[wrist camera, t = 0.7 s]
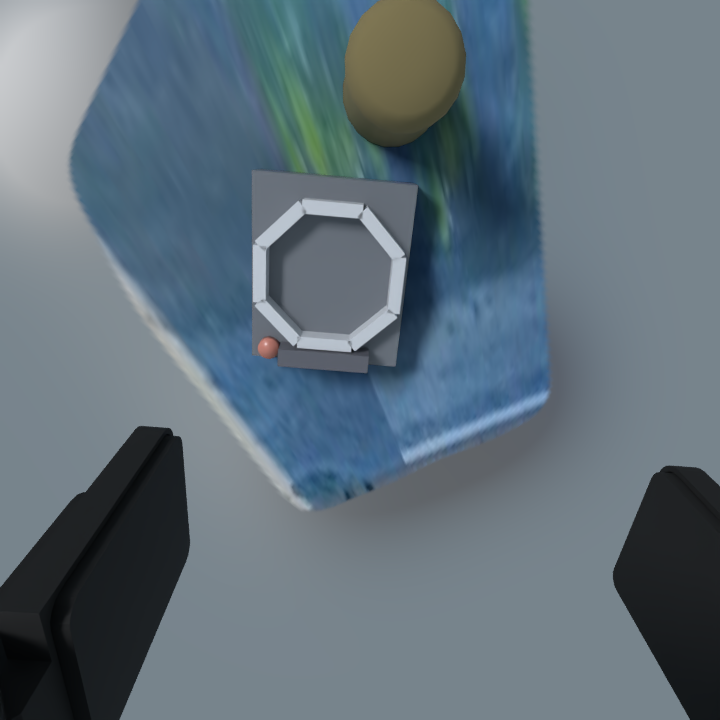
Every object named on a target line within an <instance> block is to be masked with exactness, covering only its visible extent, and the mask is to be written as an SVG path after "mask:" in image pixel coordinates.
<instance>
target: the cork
mask: <svg viewBox="0 0 720 720" xmlns="http://www.w3.org/2000/svg"><path fill="white" fill-rule="evenodd" d="M465 63H466V52H465V48H464V43H463V38H462V34H461V31H460V29H459V27H458V26H457V24H456V22H455V20H454V19H453V17H452V15H451V13H450V12H448V11H447V10H446V9H445V8H444V7H443V6H442V5H441V4H439V3H438V2H437V1H436V0H380V1H378V2H377V3H376V4H374V5H373V6H372V7H371V8H370V9H369V10H368V11H367V12H365V13H364V14H363V15H362V16H361V18H360V20H359V21H358V23H357V25H356V26H355V28H354V30H353V31H352V33H351V35H350V39H349V43H348V47H347V50H346V54H345V79H344V83H343V103H344V106H345V110H346V113H347V116H348V119H349V121H350V122H351V123H352V125H353V126H354V128H355V129H356V131H357V132H358V133H359V134H360V135H361V136H363V137H364V138H365V139H367V140H368V141H369V142H371V143H374V144H377V145H380V146H383V147H399V146H402V145H405V144H408V143H410V142H413V141H414V140H416V139H417V138H418V137H419V136H421V135H422V134H423V133H424V132H426V130H427V129H428V127H430V126H432V125H433V124H434V123H435V122H437V121H438V120H439V119H440V118H442V117H443V116H444V115H446V113H447V112H448V110H449V109H450V108H451V106H452V105H453V103H454V102H455V100H456V99H457V97H458V95H459V92H460V89H461V86H462V83H463V80H464V77H465Z"/></svg>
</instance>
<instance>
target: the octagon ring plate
mask: <svg viewBox="0 0 720 720" xmlns="http://www.w3.org/2000/svg"><path fill="white" fill-rule="evenodd" d="M417 191H418V185H417V184H415V183H407V182H396V181H385V180H374V179H363V178H353V177H342V176H331V175H320V174H309V173H298V172H288V171H277V170H266V169H256V170H252V355H256V356H262V357H264V358H267V359H270V358H274V357H278V366H282V367H294V368H307V369H320V370H332V371H345V372H357V373H367V371H368V364H369V365H381V366H394V367H395V366H396V358H397V350H398V342H399V334H400V326H401V318H402V310H403V303H404V295H405V287H406V279H407V271H408V263H409V255H410V247H411V239H412V231H413V223H414V215H415V207H416V199H417Z"/></svg>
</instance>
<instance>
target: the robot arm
mask: <svg viewBox="0 0 720 720" xmlns="http://www.w3.org/2000/svg"><path fill="white" fill-rule="evenodd" d="M189 546H190V536H189V524H188V512H187V498H186V485H185V473H184V460H183V447H182V440H181V438H180V437H179V436H173V432H172V430H171V429H170V428H160V427H147V426H139V427H137V428H136V429H135V430H134V432H133V433H132V434H131V436H130V437H129V438H128V439H127V441H126V442H125V443H124V444H123V446H122V447H121V448H120V449H119V451H118V452H117V453H116V454H115V456H114V457H113V458H112V460H111V461H110V462H109V464H108V465H107V466H106V467H105V468H104V470H103V471H102V472H101V473H100V475H99V476H98V477H97V478H96V480H95V481H94V482H93V483H92V485H91V486H90V487H89V488H88V490H87V491H86V492H83V493H81V494H78V495H77V496H76V497H75V498H74V499H72V500H71V501H70V503H69V504H68V505H67V506H66V508H65V509H64V510H63V511H62V512H61V514H60V515H59V516H58V517H57V519H56V520H55V521H54V523H52V525H51V526H50V527H49V528H48V530H47V531H46V532H45V533H44V535H43V536H42V537H41V538H40V539H39V541H38V542H37V543H36V544H35V546H34V547H33V548H32V549H31V550H30V552H29V553H28V554H27V555H26V557H25V558H24V559H23V560H22V562H21V563H20V564H19V565H18V567H17V568H16V569H15V570H14V571H13V573H12V574H11V575H10V576H9V578H8V579H7V580H6V581H5V582H4V584H3V585H2V586H1V587H0V720H119V719H120V717H121V714H122V712H123V710H124V707H125V705H126V703H127V700H128V698H129V695H130V693H131V691H132V688H133V686H134V683H135V681H136V679H137V676H138V674H139V672H140V669H141V667H142V664H143V662H144V660H145V657H146V655H147V652H148V650H149V648H150V645H151V643H152V641H153V639H154V636H155V634H156V631H157V629H158V627H159V624H160V622H161V620H162V617H163V615H164V612H165V610H166V608H167V605H168V603H169V601H170V598H171V596H172V593H173V591H174V589H175V586H176V584H177V582H178V579H179V577H180V574H181V572H182V569H183V567H184V565H185V563H186V560H187V557H188V553H189ZM613 580H614V585H615V588H616V590H617V592H618V594H619V595H620V597H621V599H622V601H623V602H624V604H625V606H626V608H627V609H628V611H629V613H630V615H631V616H632V618H633V620H634V622H635V623H636V625H637V627H638V629H639V631H640V632H641V634H642V636H643V638H644V639H645V641H646V643H647V645H648V646H649V648H650V650H651V652H652V653H653V655H654V657H655V659H656V660H657V662H658V664H659V666H660V667H661V669H662V671H663V673H664V674H665V676H666V678H667V680H668V682H669V683H670V685H671V687H672V688H673V690H674V692H675V694H676V695H677V697H678V699H679V700H680V702H681V704H682V706H683V708H684V709H685V711H686V713H687V715H688V717H689V718H690V720H720V486H719V485H718V484H717V483H716V482H715V481H714V480H712V478H710V477H709V476H708V475H707V474H706V473H705V472H704V471H703V470H701V469H699V468H694V467H682V466H665V467H664V468H662V469H661V471H660V472H658V473H655V474H654V475H653V477H652V478H651V481H650V483H649V485H648V488H647V490H646V493H645V495H644V498H643V500H642V502H641V505H640V507H639V510H638V512H637V514H636V517H635V519H634V522H633V524H632V527H631V529H630V531H629V534H628V536H627V539H626V541H625V544H624V546H623V548H622V551H621V553H620V556H619V558H618V560H617V563H616V565H615V568H614V571H613Z"/></svg>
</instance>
